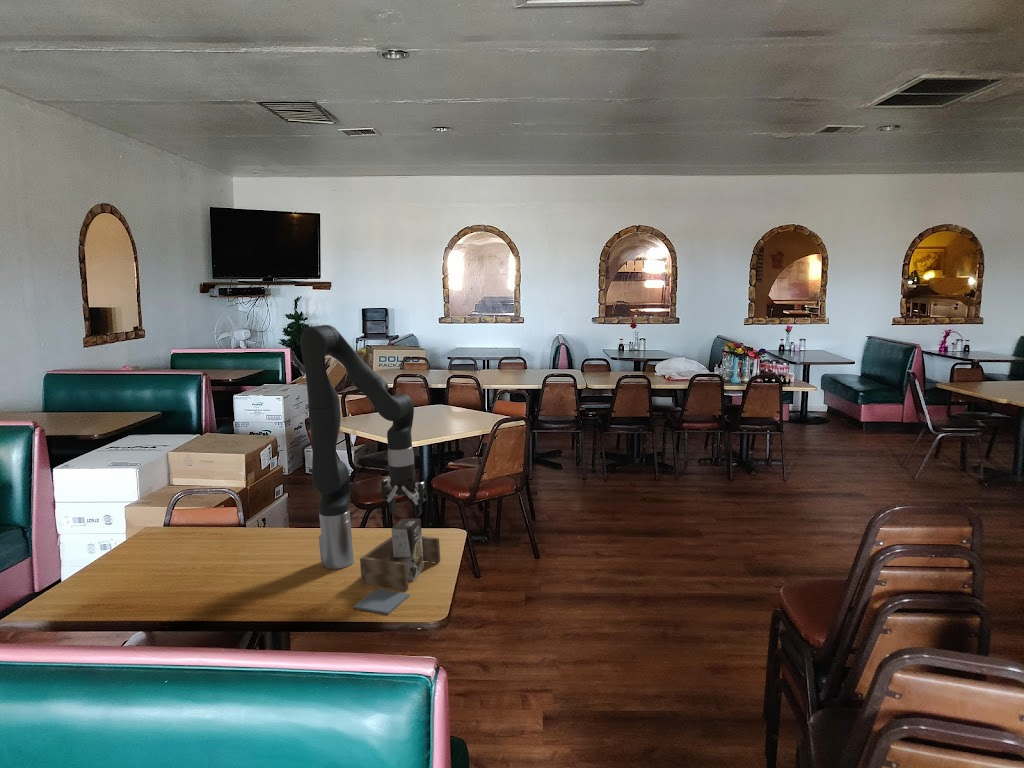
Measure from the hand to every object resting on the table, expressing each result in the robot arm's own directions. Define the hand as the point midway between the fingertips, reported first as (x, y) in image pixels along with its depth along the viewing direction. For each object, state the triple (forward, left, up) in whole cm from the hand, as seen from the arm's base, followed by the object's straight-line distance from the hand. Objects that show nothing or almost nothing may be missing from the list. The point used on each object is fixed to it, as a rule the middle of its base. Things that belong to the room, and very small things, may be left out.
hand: (405, 514), depth 206 cm
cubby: (-3, 0, -19) cm, 19 cm away
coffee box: (0, 0, -19) cm, 19 cm away
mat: (+2, -18, -19) cm, 26 cm away
